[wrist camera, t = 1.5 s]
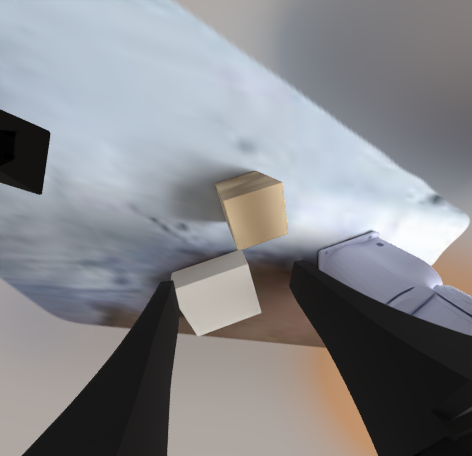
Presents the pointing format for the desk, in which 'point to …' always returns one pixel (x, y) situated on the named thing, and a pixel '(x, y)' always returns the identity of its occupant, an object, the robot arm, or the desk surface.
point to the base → (216, 292)
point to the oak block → (253, 208)
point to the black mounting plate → (22, 153)
